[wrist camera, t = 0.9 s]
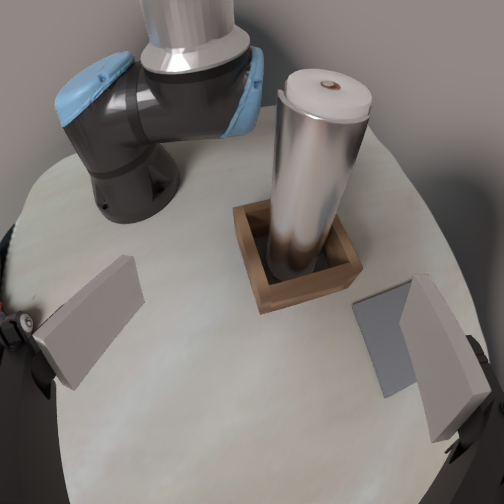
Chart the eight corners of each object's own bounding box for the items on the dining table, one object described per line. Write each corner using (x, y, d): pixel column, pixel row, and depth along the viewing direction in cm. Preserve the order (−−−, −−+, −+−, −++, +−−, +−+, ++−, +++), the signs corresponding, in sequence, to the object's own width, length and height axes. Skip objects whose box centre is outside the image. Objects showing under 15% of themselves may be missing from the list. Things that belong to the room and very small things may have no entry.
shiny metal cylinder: (293, 231, 39) (324, 59, 17) (324, 264, 36) (394, 98, 14) (256, 255, 37) (256, 74, 15) (287, 292, 34) (333, 118, 12)
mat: (351, 306, 33) (352, 304, 33) (422, 277, 35) (424, 275, 34) (384, 397, 27) (386, 397, 27) (454, 355, 29) (456, 354, 28)
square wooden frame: (235, 233, 39) (232, 207, 33) (314, 215, 40) (322, 188, 35) (260, 314, 33) (261, 299, 28) (347, 287, 35) (363, 268, 29)
